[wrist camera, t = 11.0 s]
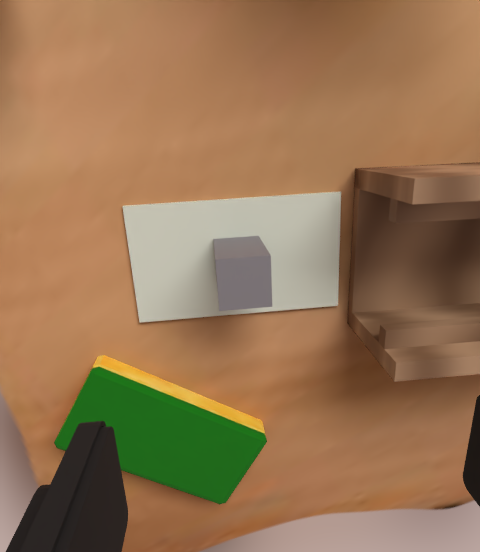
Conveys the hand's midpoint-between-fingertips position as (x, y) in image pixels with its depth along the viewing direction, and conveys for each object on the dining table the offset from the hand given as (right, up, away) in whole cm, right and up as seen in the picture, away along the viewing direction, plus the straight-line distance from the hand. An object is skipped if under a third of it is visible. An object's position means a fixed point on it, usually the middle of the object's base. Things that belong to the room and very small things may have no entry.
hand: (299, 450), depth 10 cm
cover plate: (-2, +6, +17) cm, 18 cm away
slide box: (+14, +7, +18) cm, 24 cm away
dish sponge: (-7, -7, +21) cm, 23 cm away
